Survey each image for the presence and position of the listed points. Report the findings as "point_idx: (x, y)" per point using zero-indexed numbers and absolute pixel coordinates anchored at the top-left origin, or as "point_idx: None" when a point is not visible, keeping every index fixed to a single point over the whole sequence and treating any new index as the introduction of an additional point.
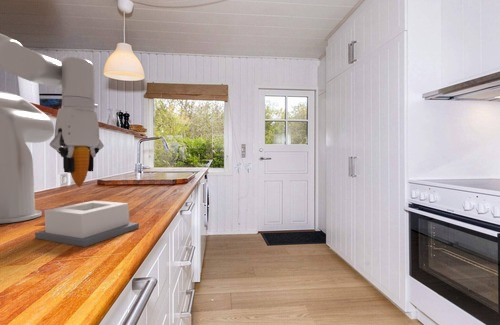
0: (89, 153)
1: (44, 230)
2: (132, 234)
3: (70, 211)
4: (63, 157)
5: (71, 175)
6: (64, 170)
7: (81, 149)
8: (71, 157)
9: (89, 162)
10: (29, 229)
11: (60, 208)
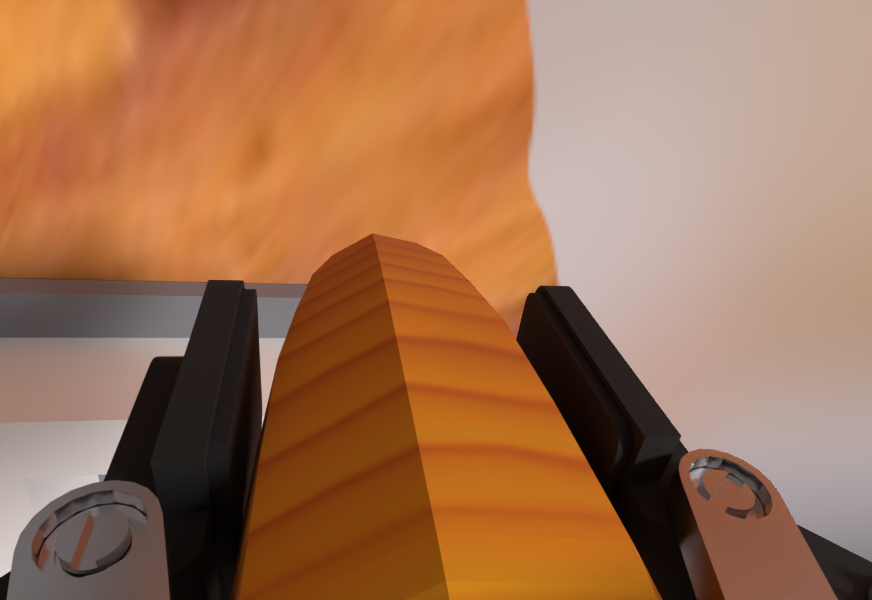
0: (684, 592)
1: (6, 296)
2: None
3: (4, 570)
4: (90, 524)
5: (310, 279)
6: (207, 295)
7: None
8: (214, 595)
9: None
10: (21, 24)
11: (10, 463)
